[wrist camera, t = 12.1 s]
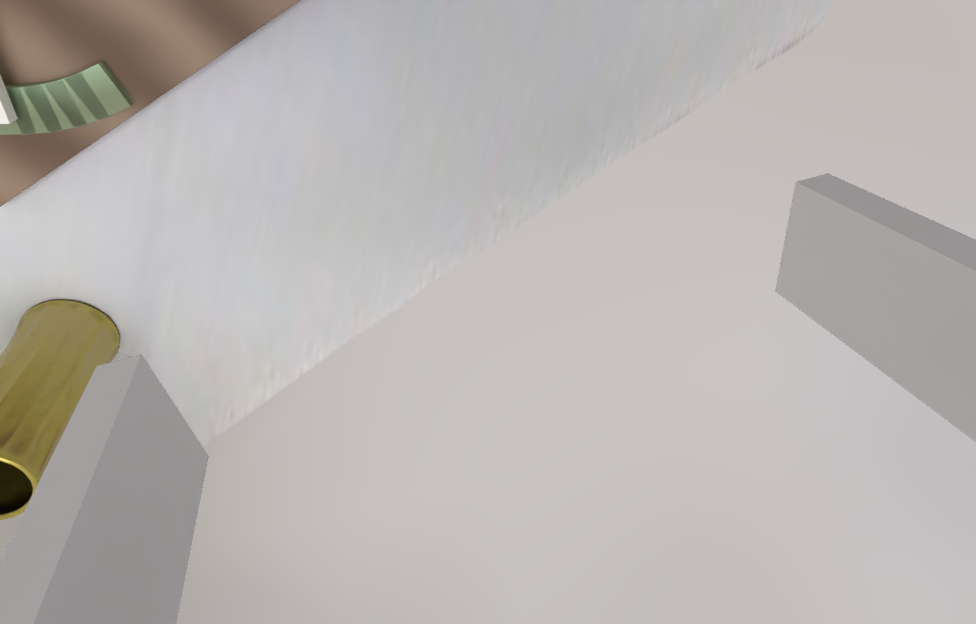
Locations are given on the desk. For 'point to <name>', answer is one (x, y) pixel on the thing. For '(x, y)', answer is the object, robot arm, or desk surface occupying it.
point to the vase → (45, 389)
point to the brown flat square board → (101, 68)
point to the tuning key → (6, 106)
